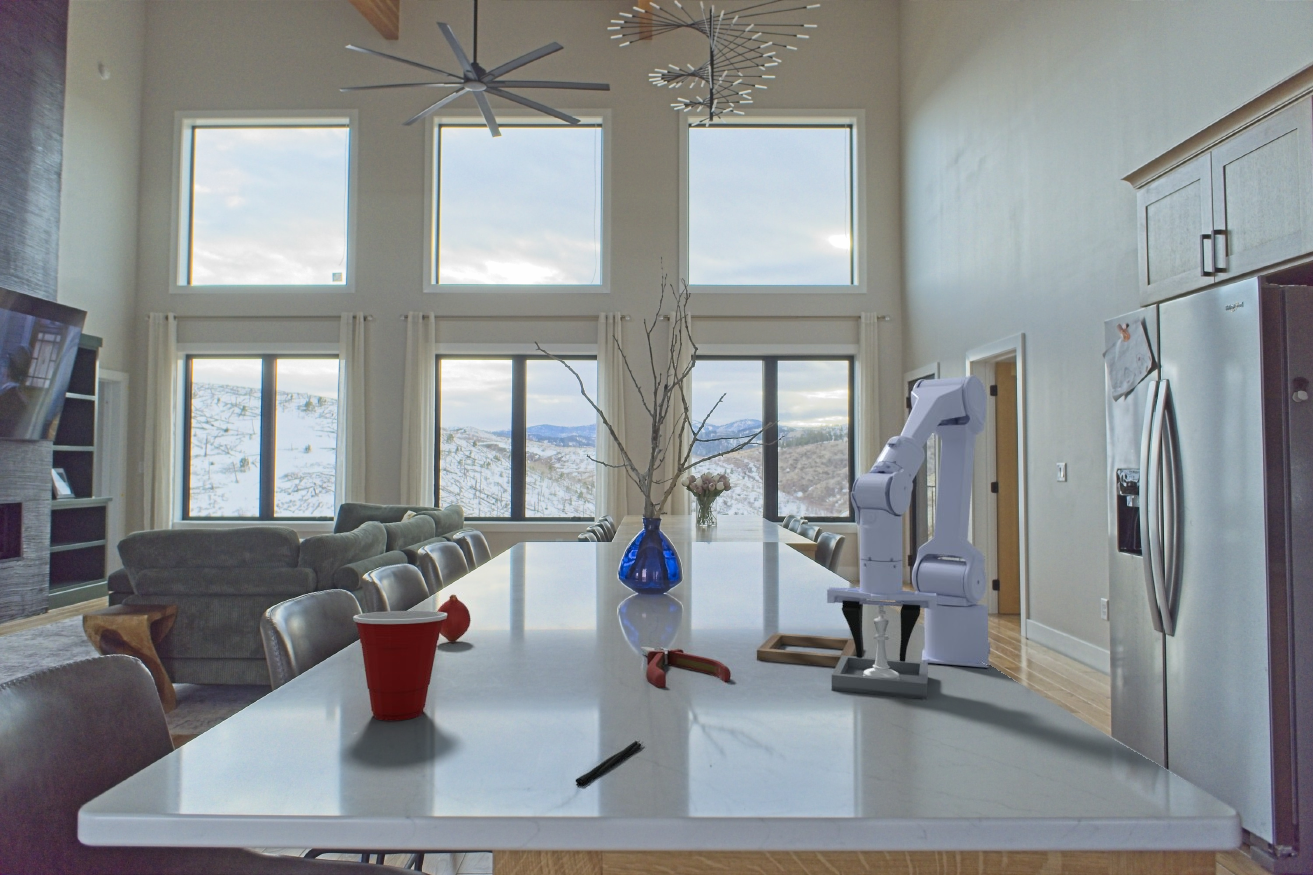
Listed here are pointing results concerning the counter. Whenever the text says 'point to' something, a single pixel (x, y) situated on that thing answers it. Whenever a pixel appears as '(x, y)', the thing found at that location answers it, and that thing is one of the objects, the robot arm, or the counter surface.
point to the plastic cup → (398, 659)
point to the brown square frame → (772, 654)
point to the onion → (454, 619)
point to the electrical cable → (608, 763)
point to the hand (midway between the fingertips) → (881, 658)
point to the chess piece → (881, 650)
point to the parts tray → (908, 685)
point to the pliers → (680, 664)
